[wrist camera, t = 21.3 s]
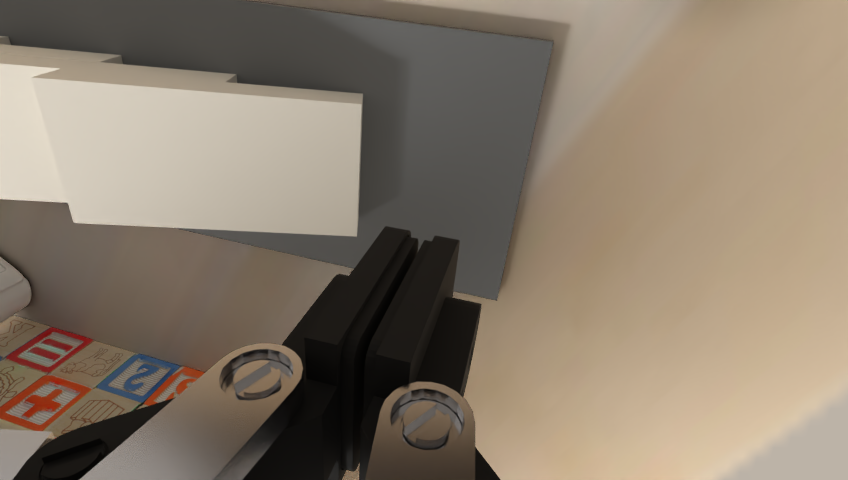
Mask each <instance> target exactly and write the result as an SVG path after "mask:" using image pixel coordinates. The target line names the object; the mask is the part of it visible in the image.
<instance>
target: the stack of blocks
mask: <svg viewBox="0 0 848 480" xmlns="http://www.w3.org/2000/svg"><path fill="white" fill-rule="evenodd" d="M203 374H204V372H201V371H198V370H195V369H192V368H188V367H185V366H182V367H180V366H179V365H176V364H172V363H169V362H165V361H162V360H159V359H155V358H152V357H149V356H145V355H142V354H136V353H134V352H131V351H128V350H124V349H121V348H117V347H114V346H111V345H107V344H104V343H100V342H97V341H94V340H92V339H90V338H86V337H83V336H80V335H76V334H73V333H70V332H66V331H63V330H60V329H56V328H53V327H50V326H47V325H44V324H41V323H37V322H34V321H31V320H27V319H24V318H21V317H17V316H14V315H12V316H11V317H9V318H8V319H7V320H5V321H3V322H2V323H0V429H9V430H28V431H46V432H52V433H53V435H54V438H57V437H58V436H60V435H63V434H65V433H67V432H70V431H72V430H75V429H77V428H80V427H83V426H86V425H90V424H93V423H96V422H99V421H102V420H105V419H109V418H112V417H115V416H118V415H121V414H124V413H128V412H131V411H134V410H137V409H140V408H143V407H147V406H150V405H153V404H156V403H159V402H162V401H165V400H169V399H172V398H175V397H177V396H178V395H179V394H181V393H182V392H183V391H184V390H185V389H186V388H188V387H189V386H190V385H191V384H192V383H193V382H195V381H196V380H197V379H198V378H199V377H200V376H202V375H203Z"/></svg>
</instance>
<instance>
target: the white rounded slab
mask: <svg viewBox="0 0 848 480" xmlns="http://www.w3.org/2000/svg"><path fill="white" fill-rule="evenodd" d="M30 300H31V288H30V285H29V282H28V280H27V279H26V278H24V277H23V275H22V274H21V273H20V272H19V271H17V270H16V269H15V268H14V267H13V266H12V265H10V264H9V263H8V262H6V261H5V260H4V259H2V258H1V257H0V323H2V322H3V321H5V320H7V319H8V318H9V317H11V316H12V315H14V314H15V313H16V312H17V311H19V310H21V309H22V308H24V307H25V306H27V305H28V304H29V302H30Z"/></svg>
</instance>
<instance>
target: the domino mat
mask: <svg viewBox="0 0 848 480" xmlns="http://www.w3.org/2000/svg"><path fill="white" fill-rule="evenodd" d="M0 36H8V37H9V40H10V43H11V45H15V46H26V47H37V48H48V49H59V50H70V51H81V52H92V53H103V54H114V55H121V56H122V61H123V64H126V65H137V66H148V67H160V68H171V69H182V70H194V71H205V72H216V73H228V74H236V75H237V83H242V84H254V85H266V86H277V87H289V88H301V89H313V90H325V91H337V92H349V93H361V94H363V109H362V137H361V164H360V192H359V219H358V230H357V237H355V236H334V235H313V234H293V233H272V232H251V231H230V230H209V229H188V228H177V229H181V230H186V231H190V232H194V233H199V234H203V235H208V236H212V237H217V238H221V239H226V240H230V241H234V242H239V243H243V244H248V245H252V246H257V247H261V248H266V249H270V250H274V251H279V252H283V253H288V254H292V255H297V256H301V257H306V258H310V259H314V260H319V261H323V262H328V263H332V264H337V265H341V266H346V267H350V268H355V267H356V266H357V264H358V263H359V261H360V260H361V259H362V257H363V256H364V255H365V253H366V252H367V250H368V249H369V248H370V246H371V245H372V244H373V242H374V241H375V239H376V238H377V237H378V235H379V234H380V233H381V231H382V230H383V229H384V227H385V226H388V227H394V228H399V229H404V230H410V232H411V237H412V238H418V251H419V249H420V247H421V245H422V243H423V241H424V240H428V241H432V240H433V238H434V236H435V235H436V236H441V237H447V238H452V239H457V240H460V245H459V253H458V261H457V268H456V275H455V283H454V290H453V291H457V292H461V293H466V294H470V295H474V296H479V297H483V298H488V299H492V300H497V298H498V293H499V289H500V284H501V280H502V275H503V270H504V266H505V261H506V257H507V252H508V248H509V243H510V238H511V234H512V229H513V225H514V220H515V216H516V211H517V206H518V202H519V197H520V193H521V188H522V184H523V179H524V174H525V170H526V165H527V161H528V156H529V152H530V147H531V142H532V138H533V133H534V129H535V124H536V120H537V115H538V110H539V106H540V101H541V97H542V92H543V88H544V83H545V78H546V74H547V69H548V65H549V60H550V55H551V51H552V46H553V41H551V40H543V39H535V38H528V37H520V36H513V35H505V34H497V33H490V32H482V31H475V30H467V29H460V28H452V27H444V26H437V25H429V24H422V23H414V22H407V21H399V20H391V19H384V18H376V17H369V16H361V15H354V14H346V13H338V12H331V11H323V10H316V9H308V8H300V7H293V6H285V5H278V4H270V3H263V2H255V1H247V0H0ZM61 203H63V202H61ZM66 204H68V203H66Z"/></svg>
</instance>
